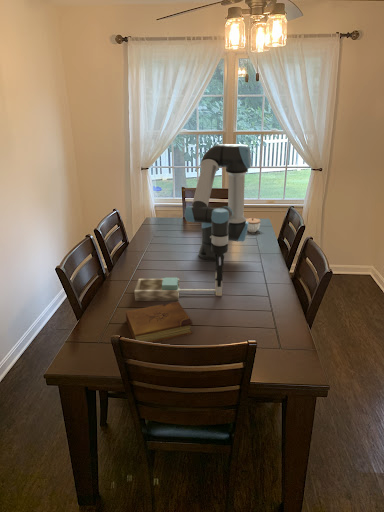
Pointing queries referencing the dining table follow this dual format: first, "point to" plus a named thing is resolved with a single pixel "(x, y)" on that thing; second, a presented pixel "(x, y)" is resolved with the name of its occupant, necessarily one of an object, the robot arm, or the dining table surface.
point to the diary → (158, 322)
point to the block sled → (173, 285)
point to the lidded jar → (253, 224)
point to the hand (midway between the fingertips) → (218, 288)
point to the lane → (154, 291)
